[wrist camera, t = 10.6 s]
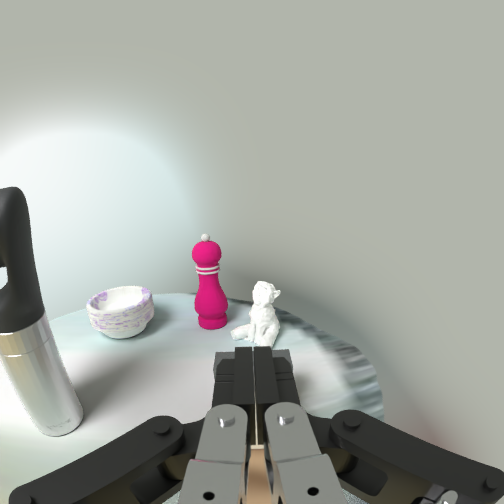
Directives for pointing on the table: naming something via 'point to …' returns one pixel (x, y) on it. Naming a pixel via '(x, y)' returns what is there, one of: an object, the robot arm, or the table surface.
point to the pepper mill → (209, 285)
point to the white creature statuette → (260, 317)
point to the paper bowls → (121, 311)
